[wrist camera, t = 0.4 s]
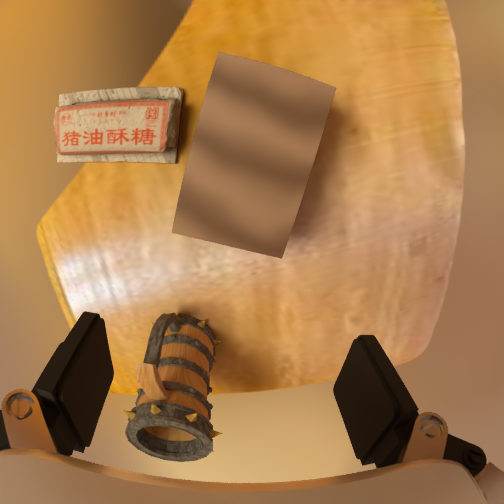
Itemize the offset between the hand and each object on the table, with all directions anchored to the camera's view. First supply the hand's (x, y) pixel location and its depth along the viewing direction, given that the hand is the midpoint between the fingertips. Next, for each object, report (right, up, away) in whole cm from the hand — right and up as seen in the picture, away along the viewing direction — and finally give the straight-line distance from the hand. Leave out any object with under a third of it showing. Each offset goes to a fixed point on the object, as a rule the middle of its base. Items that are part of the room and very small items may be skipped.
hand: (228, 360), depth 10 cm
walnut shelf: (0, +17, +26) cm, 31 cm away
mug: (-10, -9, +36) cm, 38 cm away
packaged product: (-17, +21, +24) cm, 36 cm away
